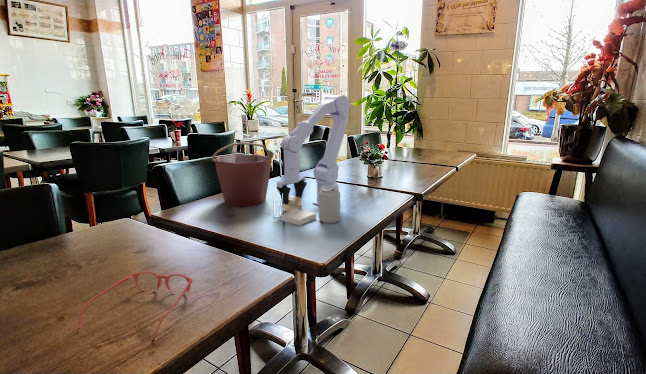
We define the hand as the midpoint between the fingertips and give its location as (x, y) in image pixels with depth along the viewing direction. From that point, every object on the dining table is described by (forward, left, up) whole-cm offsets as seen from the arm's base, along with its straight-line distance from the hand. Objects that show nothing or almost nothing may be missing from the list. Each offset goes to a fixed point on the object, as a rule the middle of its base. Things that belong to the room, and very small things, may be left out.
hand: (292, 201), depth 135 cm
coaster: (+7, +9, -3) cm, 12 cm away
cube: (0, 0, -4) cm, 4 cm away
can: (+1, +19, -4) cm, 19 cm away
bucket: (+4, -23, -4) cm, 24 cm away
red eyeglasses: (+69, +20, -4) cm, 72 cm away
